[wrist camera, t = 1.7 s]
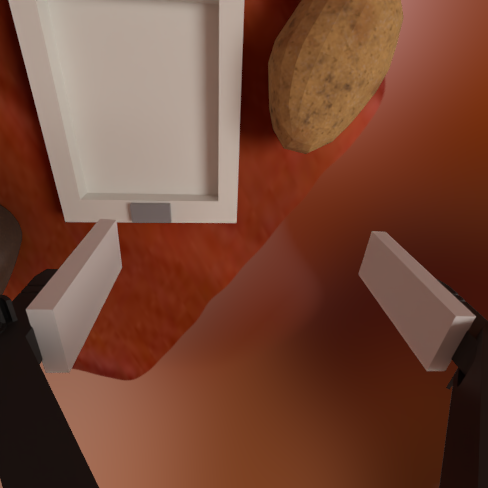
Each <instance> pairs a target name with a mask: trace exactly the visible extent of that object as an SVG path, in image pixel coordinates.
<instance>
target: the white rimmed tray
mask: <svg viewBox="0 0 488 488" xmlns="http://www.w3.org/2000/svg"><path fill="white" fill-rule="evenodd" d="M8 1H9V5H10V9H11V12H12V16H13V20H14V24H15V28H16V32H17V36H18V40H19V44H20V48H21V51H22V55H23V59H24V63H25V67H26V71H27V75H28V79H29V83H30V86H31V90H32V94H33V98H34V102H35V106H36V110H37V114H38V118H39V121H40V125H41V129H42V133H43V137H44V141H45V145H46V149H47V153H48V157H49V160H50V164H51V168H52V172H53V176H54V180H55V184H56V188H57V192H58V195H59V199H60V203H61V207H62V211H63V215H64V219H65V222H98V221H99V219H113V220H116V221H117V222H132V223H236V222H237V194H238V165H239V137H240V109H241V81H242V53H243V24H244V0H8Z"/></svg>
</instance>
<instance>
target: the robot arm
mask: <svg viewBox="0 0 488 488" xmlns="http://www.w3.org/2000/svg"><path fill="white" fill-rule="evenodd" d="M121 268H122V263H121V255H120V246H119V238H118V230H117V221H116V220H113V219H99V221H98V222H97V223H96V224H95V226H94V227H93V228H92V229H91V230H90V232H89V233H88V234H87V235H86V236H85V238H84V239H83V240H82V241H81V243H80V244H79V245H78V246H77V247H76V249H75V250H74V251H73V252H72V253H71V255H70V256H69V257H68V258H67V260H66V261H65V262H64V263H63V264H62V266H61V267H60V268H59V269H46V270H45V271H43V272H41V273H40V274H38V275H36V276H35V277H34V278H33V279H32V280H31V281H30V282H29V284H28V286H26V287H25V288H24V289H23V290H22V291H21V293H19V295H18V296H17V297H16V298H15V299H14V300H13V301H12V302H11V299H10V298H9V297H7V296H5V295H0V479H1V483H2V486H3V488H99V487H98V485H97V483H96V481H95V478H94V476H93V474H92V472H91V470H90V468H89V466H88V464H87V462H86V460H85V458H84V456H83V454H82V452H81V450H80V448H79V446H78V443H77V441H76V439H75V437H74V435H73V433H72V431H71V429H70V427H69V425H68V423H67V421H66V419H65V417H64V415H63V412H62V411H61V408H60V406H59V404H58V402H57V400H56V398H55V396H54V394H53V392H52V390H51V388H50V386H49V384H48V382H47V380H46V378H45V375H44V373H43V371H42V369H41V367H40V363H41V361H42V363H43V366H44V369H45V372H46V373H56V372H57V373H61V372H62V373H66V372H67V373H69V372H70V370H71V368H72V366H73V364H74V362H75V360H76V358H77V356H78V354H79V352H80V350H81V348H82V346H83V344H84V342H85V340H86V338H87V336H88V334H89V332H90V330H91V328H92V326H93V324H94V322H95V320H96V318H97V316H98V314H99V312H100V310H101V308H102V306H103V304H104V302H105V300H106V298H107V296H108V294H109V292H110V290H111V288H112V286H113V284H114V282H115V280H116V278H117V276H118V274H119V272H120V270H121ZM359 276H360V277H361V279H362V280H363V281H364V283H365V284H366V286H367V287H368V288H369V290H370V291H371V293H372V294H373V296H374V297H375V298H376V300H377V301H378V303H379V304H380V305H381V307H382V308H383V310H384V311H385V312H386V314H387V315H388V317H389V318H390V320H391V321H392V322H393V324H394V325H395V327H396V328H397V330H398V331H399V332H400V334H401V335H402V336H403V338H404V339H405V341H406V342H407V344H408V345H409V346H410V348H411V349H412V350H413V352H414V354H415V355H416V356H417V358H418V359H419V360H420V362H421V363H422V365H423V366H424V368H425V369H426V371H445V370H446V369H447V367H448V365H449V363H450V362H451V360H453V361H454V363H455V364H456V365H457V366H458V369H457V371H456V372H455V374H454V376H453V377H452V379H451V381H450V382H449V384H448V386H447V387H446V388H448V389H450V388H451V387H452V386H453V387H452V395H451V403H450V410H449V418H448V426H447V433H446V441H445V448H444V456H443V463H442V471H441V478H440V486H439V488H488V321H487V320H486V319H485V318H484V317H483V316H482V315H480V314H479V313H478V312H477V311H476V310H475V309H474V308H473V307H472V306H471V305H469V304H468V303H467V302H465V300H464V299H463V298H462V297H461V296H458V294H457V293H456V292H455V291H454V290H453V289H452V288H451V287H449V286H448V285H446V284H445V283H443V282H441V281H440V280H436V279H435V278H434V277H433V276H432V275H431V274H430V273H429V272H428V271H427V270H426V269H425V268H424V267H422V266H421V265H420V264H419V263H418V262H417V261H416V260H415V259H414V258H413V257H412V256H411V255H410V254H409V253H407V252H406V251H405V250H404V249H403V248H402V247H401V246H400V245H399V244H398V243H397V242H396V241H395V240H394V239H392V238H391V237H390V236H389V235H388V234H387V233H386V232H375V231H372V233H371V237H370V239H369V242H368V246H367V249H366V252H365V255H364V259H363V262H362V265H361V268H360V271H359Z"/></svg>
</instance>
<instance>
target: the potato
mask: <svg viewBox="0 0 488 488" xmlns="http://www.w3.org/2000/svg"><path fill="white" fill-rule="evenodd" d="M402 21H403V12H402V5H401V0H302V1H301V2H300V3H299V5H298V6H297V8H296V9H295V11H294V12H293V14H292V15H291V17H290V18H289V20H288V21H287V23H286V24H285V26H284V27H283V29H282V30H281V32H280V33H279V35H278V36H277V38H276V39H275V42H274V46H273V49H272V52H271V55H270V59H269V62H268V81H269V110H270V115H271V120H272V126H273V130H274V132H275V134H276V135H277V137H278V139H279V141H280V142H281V144H282V146H283V148H285V149H289V150H293V151H296V152H300V153H304V154H307V153H309V152H311V151H313V150H315V149H317V148H319V147H322V146H324V145H326V144H328V143H330V142H332V141H333V140H334V139H335V138H336V137H337V136H338V135H339V134H340V133H341V132H342V131H343V130H344V129H345V128H347V127H348V126H349V124H350V123H351V122H352V121H353V120H354V118H355V117H356V116H357V115H358V114H359V113H360V111H361V110H362V109H363V108H364V106H365V105H366V104H367V103H368V101H369V100H370V99H371V97H372V96H373V95H374V94H375V92H376V91H377V89H378V87H379V86H380V84H381V82H382V80H383V79H384V77H385V75H386V73H387V72H388V70H389V67H390V64H391V61H392V58H393V55H394V51H395V48H396V45H397V41H398V37H399V33H400V29H401V24H402Z"/></svg>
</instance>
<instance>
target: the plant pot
mask: <svg viewBox="0 0 488 488" xmlns="http://www.w3.org/2000/svg"><path fill="white" fill-rule="evenodd" d="M21 241H22V231H21V228H20V225H19V223H18V222H17V220H16V219H15V217H14V216H13V215H12V214H11V213H10V212H9V211H8V210H7V209H6V208H4V207H3V206H1V205H0V295H2V294H3V292H4V290H5V288H6V286H7V283H8V281H9V279H10V277H11V274H12V271H13V268H14V266H15V263H16V260H17V256H18V253H19V249H20V245H21Z"/></svg>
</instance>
